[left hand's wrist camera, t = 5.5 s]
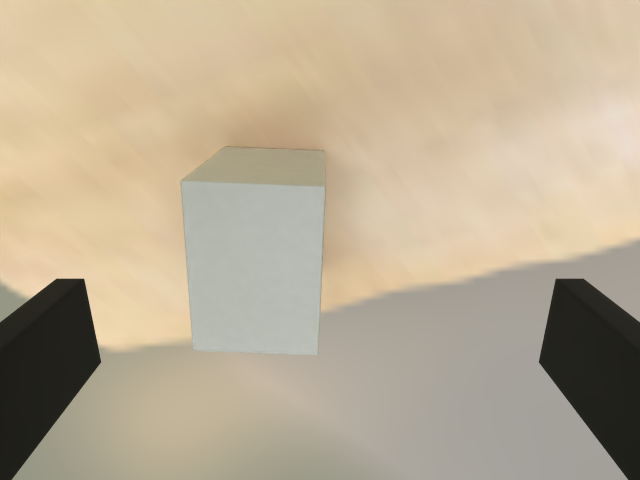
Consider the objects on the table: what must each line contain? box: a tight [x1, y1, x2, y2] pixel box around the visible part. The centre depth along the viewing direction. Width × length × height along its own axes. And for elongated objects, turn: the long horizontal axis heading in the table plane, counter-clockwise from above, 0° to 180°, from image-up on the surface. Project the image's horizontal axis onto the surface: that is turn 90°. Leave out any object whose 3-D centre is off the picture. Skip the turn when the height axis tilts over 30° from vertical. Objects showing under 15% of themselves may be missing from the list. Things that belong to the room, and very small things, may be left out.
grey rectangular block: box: [181, 147, 326, 355], centre depth 24 cm, size 6×8×9 cm
